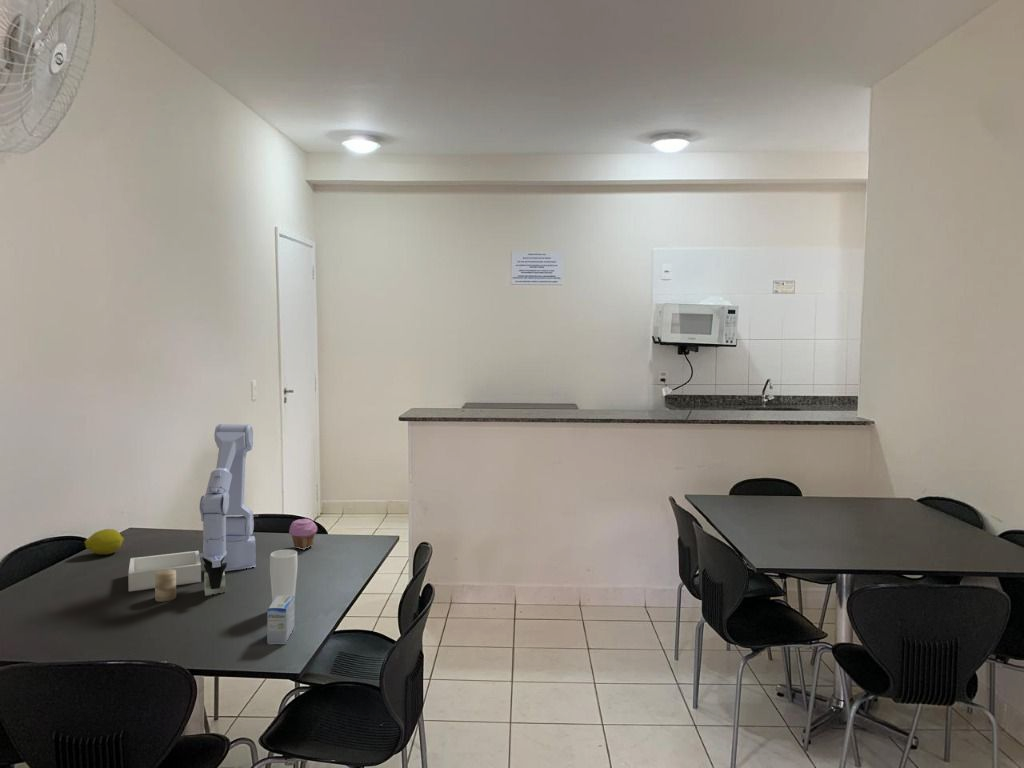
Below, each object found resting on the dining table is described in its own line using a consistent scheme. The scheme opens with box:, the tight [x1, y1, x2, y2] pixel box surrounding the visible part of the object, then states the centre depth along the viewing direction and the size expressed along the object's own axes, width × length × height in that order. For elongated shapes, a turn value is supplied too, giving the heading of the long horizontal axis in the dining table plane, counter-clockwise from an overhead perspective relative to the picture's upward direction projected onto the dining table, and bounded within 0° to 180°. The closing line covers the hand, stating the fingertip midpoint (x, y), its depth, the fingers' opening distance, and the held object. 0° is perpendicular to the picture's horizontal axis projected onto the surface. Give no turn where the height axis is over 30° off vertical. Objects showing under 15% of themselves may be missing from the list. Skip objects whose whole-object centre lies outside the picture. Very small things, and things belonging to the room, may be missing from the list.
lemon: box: [84, 528, 125, 556], centre depth 211 cm, size 11×8×8 cm
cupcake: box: [288, 518, 318, 548], centre depth 222 cm, size 9×9×10 cm
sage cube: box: [203, 571, 226, 597], centre depth 183 cm, size 5×5×5 cm
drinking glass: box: [269, 549, 299, 602], centre depth 171 cm, size 7×7×15 cm
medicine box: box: [266, 595, 296, 644], centre depth 156 cm, size 8×4×9 cm, turn 5°
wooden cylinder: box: [154, 569, 177, 603], centre depth 178 cm, size 5×5×7 cm
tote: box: [127, 550, 202, 592], centre depth 192 cm, size 18×14×5 cm
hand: (214, 585), depth 183 cm, fingers closed on sage cube, 5 cm apart
